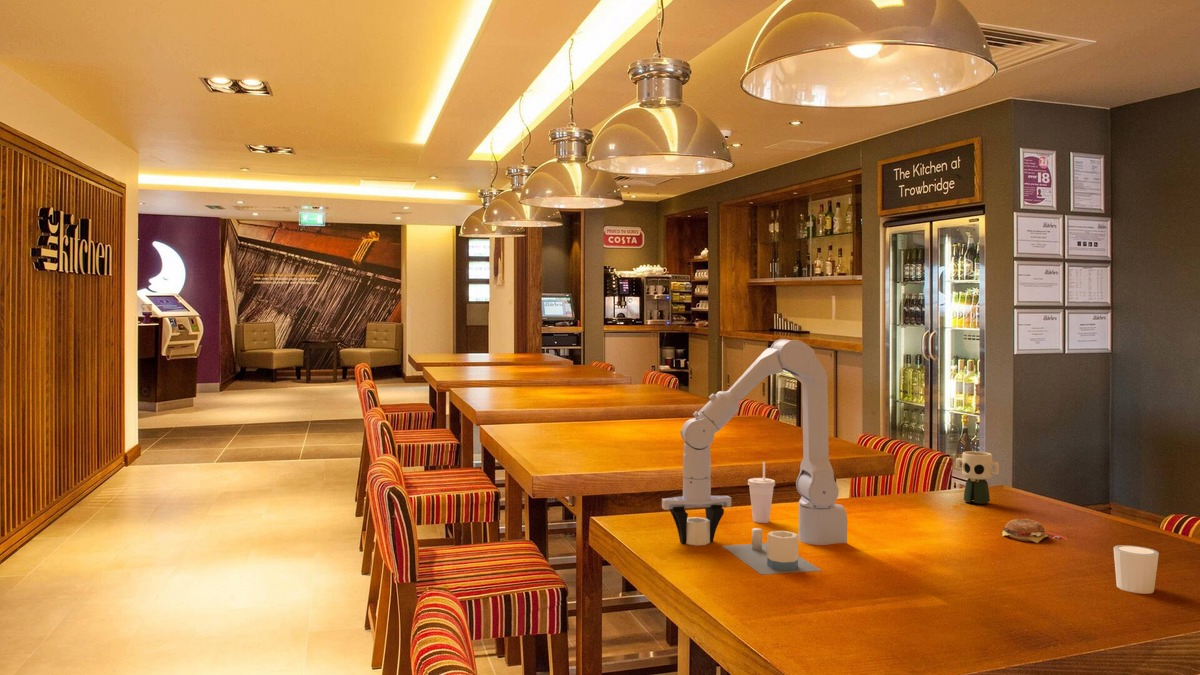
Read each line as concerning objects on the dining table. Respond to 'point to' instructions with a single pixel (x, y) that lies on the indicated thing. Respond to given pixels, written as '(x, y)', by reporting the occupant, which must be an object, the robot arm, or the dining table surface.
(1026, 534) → the hamburger
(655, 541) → the dining table surface
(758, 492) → the smoothie
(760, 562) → the pin board
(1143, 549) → the white cup
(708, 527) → the sleeve
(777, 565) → the seated sleeve
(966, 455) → the character mug
